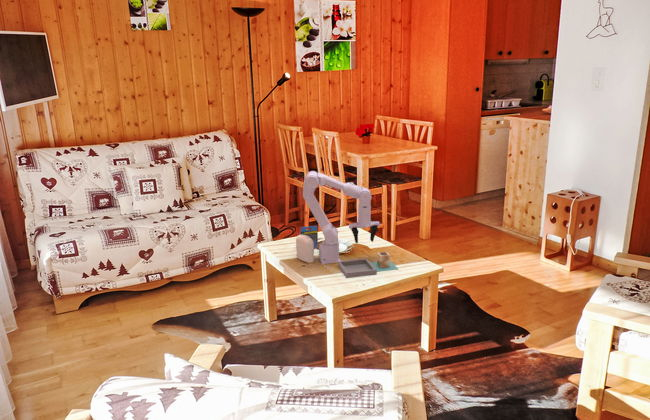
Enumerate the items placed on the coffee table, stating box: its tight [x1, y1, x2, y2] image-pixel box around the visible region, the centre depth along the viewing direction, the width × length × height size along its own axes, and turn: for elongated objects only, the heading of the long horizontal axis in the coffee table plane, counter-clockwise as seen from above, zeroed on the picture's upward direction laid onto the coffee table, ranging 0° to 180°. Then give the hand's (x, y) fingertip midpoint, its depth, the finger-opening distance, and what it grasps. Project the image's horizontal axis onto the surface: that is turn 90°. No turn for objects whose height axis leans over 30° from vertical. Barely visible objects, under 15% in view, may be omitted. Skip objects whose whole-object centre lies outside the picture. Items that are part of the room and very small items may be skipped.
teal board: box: [369, 260, 399, 273], centre depth 237 cm, size 11×11×1 cm
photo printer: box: [295, 234, 315, 264], centre depth 245 cm, size 10×4×12 cm, turn 39°
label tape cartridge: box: [298, 225, 319, 249], centre depth 260 cm, size 9×4×12 cm, turn 107°
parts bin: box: [337, 258, 378, 279], centre depth 233 cm, size 14×14×2 cm
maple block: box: [376, 251, 391, 268], centre depth 236 cm, size 4×4×6 cm
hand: (364, 241), depth 243 cm, fingers open, 7 cm apart
